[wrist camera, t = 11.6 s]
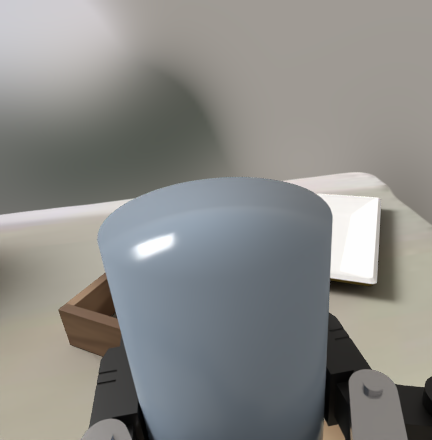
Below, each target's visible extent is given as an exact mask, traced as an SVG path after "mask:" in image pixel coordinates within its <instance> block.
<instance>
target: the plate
mask: <svg viewBox="0 0 432 440" xmlns="http://www.w3.org/2000/svg"><path fill="white" fill-rule="evenodd" d="M317 195H318V196H320V197H321V198H322V199H323V200H324V201H325V202H326V203H327V204H328V206H329V207H330V209H331V212H332V215H333V223H332V246H331V268H330V280H331V281H337V282H344V283H351V284H358V285H365V286H372V285H374V284H376V283H377V272H378V253H379V233H380V214H381V199H379V198H377V197H364V196H347V195H331V194H317Z"/></svg>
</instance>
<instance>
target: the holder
mask: <svg viewBox="0 0 432 440" xmlns="http://www.w3.org/2000/svg"><path fill="white" fill-rule="evenodd" d="M58 310H59V313H60V316H61V319H62V322H63V325H64V328H65V331H66V334H67V336H68V339H69V342H70V345H73V346H76V347H78V348H81V349H84V350H87V351H89V352H92V353H95V354H97V355H100V356H104V355H105V353H106V352H107V350H108V349H109V348H114V347H119V346H120V341H121V330H120V326H119V322H118V319H117V318H114V317H110V316H111V315H112V314H114V313H115V312H116V311H115V307H114V303H113V299H112V295H111V291H110V288H109V284H108V280H107V276H106V273H104V274H103V275H102V276H100V277H99V278H98V279H97V280H95V281H94V282H93V283H92V284H90V285H89V286H88V287H86V288H85V289H84V290H83V291H81V292H80V293H79V294H78V295H76V296H75V297H74V298H72V299H71V300H70V301H69V302H67V303H66V304H65V305H64V306H62V307H61V308H60V309H58Z"/></svg>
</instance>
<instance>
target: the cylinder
mask: <svg viewBox="0 0 432 440" xmlns="http://www.w3.org/2000/svg"><path fill="white" fill-rule="evenodd" d="M332 223H333V215H332V212H331V209H330V207H329V206H328V204H327V203H326V202H325V201H324V200H323V199H322V198H321V197H320V196H318V195H317V194H315V193H314V192H312V191H310V190H308V189H306V188H303V187H300V186H298V185H294V184H291V183H287V182H283V181H278V180H271V179H264V178H250V177H224V178H211V179H204V180H196V181H190V182H185V183H180V184H176V185H171V186H168V187H164V188H161V189H158V190H154V191H152V192H149V193H147V194H144V195H142V196H139V197H137V198H135V199H133V200H131V201H129V202H127V203H125V204H124V205H122V206H121V207H119V208H118V209H116V210H115V211H114V212H113V213H111V214H110V215H109V216H108V217H107V218H106V220H105V221H104V222H103V224H102V225H101V227H100V229H99V232H98V239H97V240H98V245H99V249H100V253H101V256H102V260H103V264H104V268H105V272H106V276H107V280H108V284H109V288H110V291H111V295H112V299H113V303H114V307H115V311H116V315H117V319H118V322H119V326H120V330H121V334H122V338H123V342H124V346H125V350H126V354H127V357H128V361H129V365H130V369H131V373H132V377H133V381H134V385H135V388H136V392H137V396H138V400H139V404H140V408H141V412H142V416H143V420H144V423H145V427H146V431H147V435H148V439H149V440H323V429H324V406H325V383H326V360H327V337H328V314H329V291H330V268H331V246H332Z"/></svg>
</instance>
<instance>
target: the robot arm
mask: <svg viewBox="0 0 432 440" xmlns="http://www.w3.org/2000/svg"><path fill="white" fill-rule="evenodd" d="M324 419H325V421H326V423H327V425H328V426H333V425H339V427H340V429H341V431H342V433H343V435H344V440H432V377H430V378H428V379H427V381H426V383H425V387H415V386H404V385H397V384H394V382H393V381H392V380H391V379H390V378H389V377H388V376H386V375H385V374H383V373H381V372H378V371H375V370H372V369H371V368H370V366H369V365H368V363H367V362H366V360H365V359H364V357H363V356H362V354H361V353H360V351H359V350H358V349H357V347H356V346H355V344H354V343H353V341H352V340H351V338H349V335H348V334H347V332H346V331H345V330H344V329H343V326H342V325H341V324H340V322H339V321H338V319H337V318H336V317H335V316H333V315H332V314H331V313H329V314H328V337H327V360H326V383H325V406H324ZM81 440H149V439H148V435H147V431H146V427H145V423H144V420H143V416H142V412H141V408H140V404H139V400H138V396H137V392H136V388H135V385H134V381H133V377H132V373H131V369H130V365H129V361H128V357H127V354H126V350H125V346H124V342H123V338H122V334H121V341H120V346H119V347H114V348H109V349H108V350H107V352H106V353H105V355H104V356H103V358H102V359H101V362H100V368H99V375H98V379H97V386H96V391H95V397H94V402H93V408H92V414H91V420H90V425H89V428H88V430H87V431H86V432H85V434H84V435H83V437H82V438H81Z"/></svg>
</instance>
